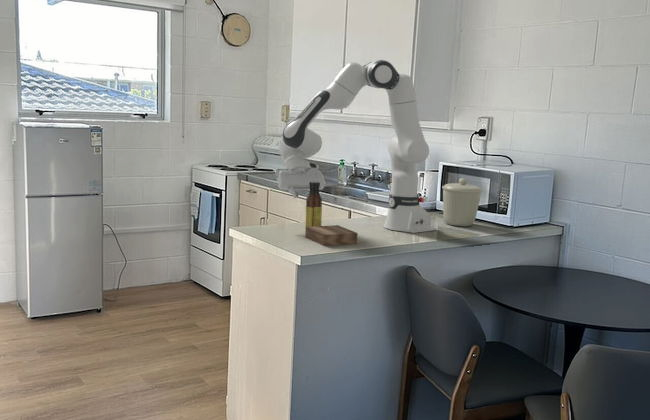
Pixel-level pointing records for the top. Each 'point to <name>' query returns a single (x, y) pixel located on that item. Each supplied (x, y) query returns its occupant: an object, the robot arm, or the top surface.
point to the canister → (460, 203)
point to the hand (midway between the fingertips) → (306, 197)
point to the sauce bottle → (313, 206)
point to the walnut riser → (331, 235)
